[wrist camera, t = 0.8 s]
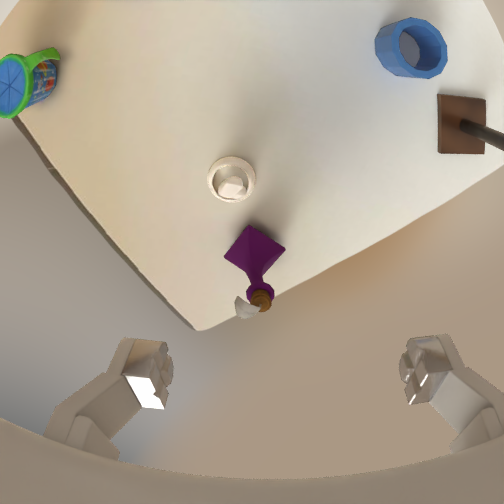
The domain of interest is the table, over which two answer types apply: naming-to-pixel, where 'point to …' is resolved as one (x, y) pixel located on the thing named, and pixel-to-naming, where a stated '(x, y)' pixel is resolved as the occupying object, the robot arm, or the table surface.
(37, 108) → the table surface
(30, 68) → the snack cup
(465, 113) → the stand
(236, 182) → the hook
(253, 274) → the perfume bottle
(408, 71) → the tape roll
